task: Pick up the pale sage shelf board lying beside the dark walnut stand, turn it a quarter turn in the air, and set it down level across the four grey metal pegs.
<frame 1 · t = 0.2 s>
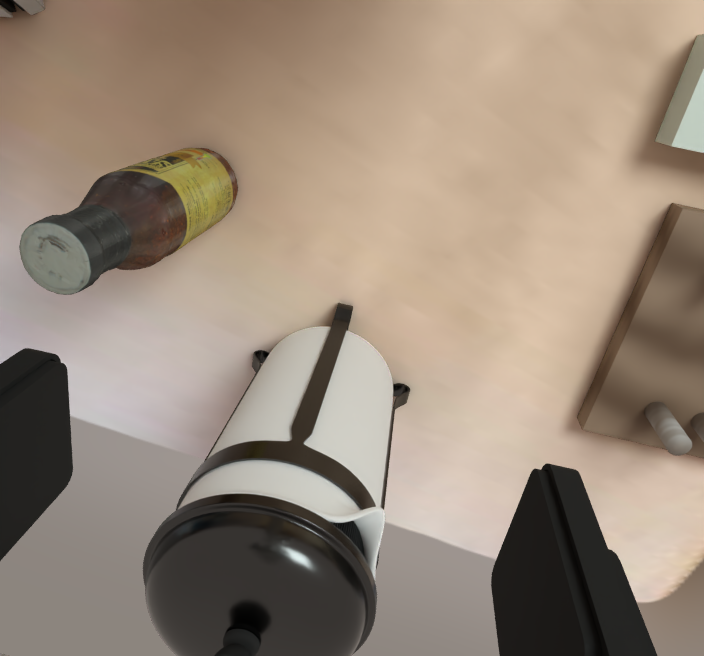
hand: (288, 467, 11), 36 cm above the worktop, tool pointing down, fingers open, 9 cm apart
peg stand: (703, 338, 46), on the worktop
coffee press: (323, 380, 53), on the worktop
sauce bottle: (204, 184, 46), on the worktop
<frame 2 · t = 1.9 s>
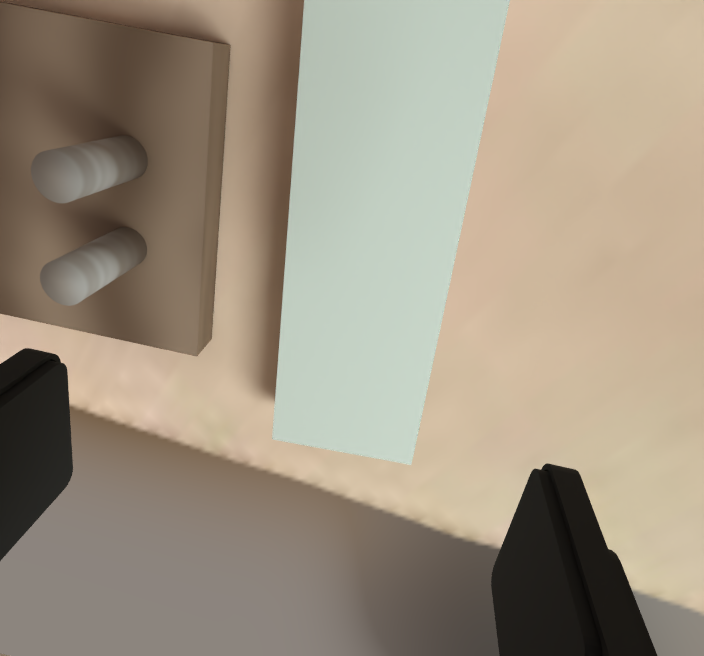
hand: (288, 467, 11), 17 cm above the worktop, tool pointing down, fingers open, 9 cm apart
peg stand: (19, 168, 27), on the worktop
shelf board: (375, 238, 26), on the worktop
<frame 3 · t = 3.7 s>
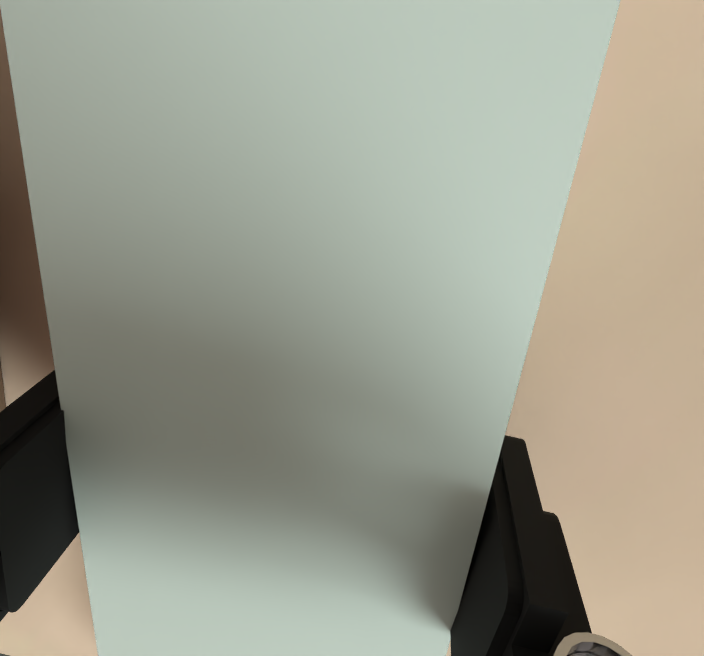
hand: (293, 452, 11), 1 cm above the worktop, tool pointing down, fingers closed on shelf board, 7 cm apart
shelf board: (308, 408, 13), on the worktop, touching gripper
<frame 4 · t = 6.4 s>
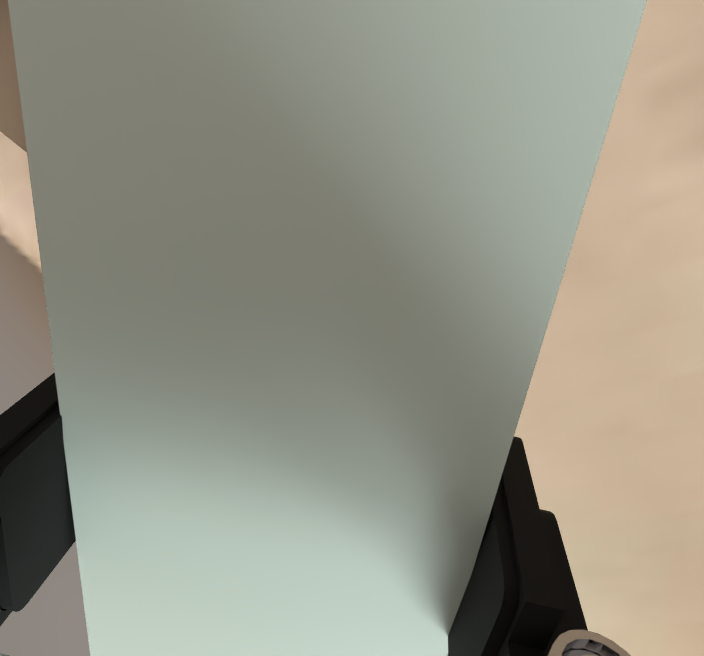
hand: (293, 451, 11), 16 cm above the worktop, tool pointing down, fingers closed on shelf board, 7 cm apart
peg stand: (166, 52, 24), on the worktop
shelf board: (308, 409, 12), point 15 cm above the worktop, touching gripper
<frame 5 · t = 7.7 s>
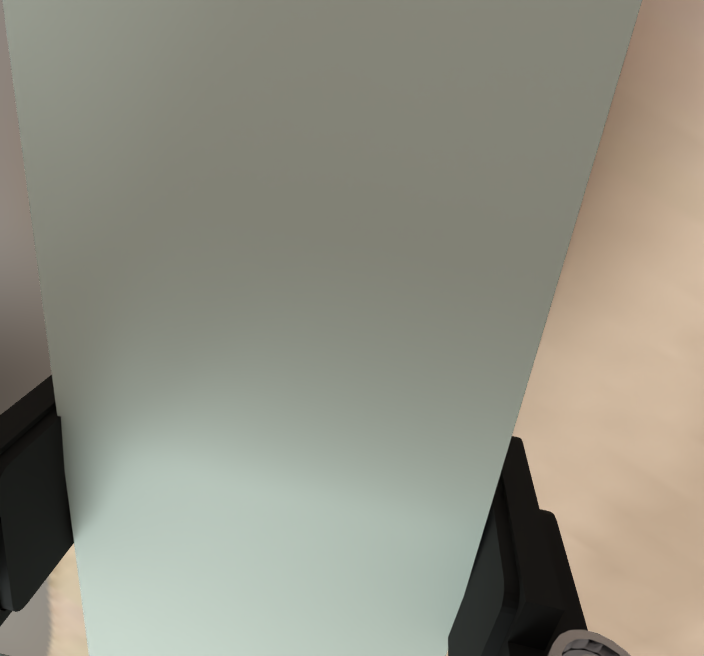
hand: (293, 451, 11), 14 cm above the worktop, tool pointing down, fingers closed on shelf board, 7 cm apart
shelf board: (307, 409, 12), point 13 cm above the worktop, touching gripper
when the fingers open (9 cm above the worktop, at t = 9.0 s): shelf board drops 1 cm, resting on peg stand.
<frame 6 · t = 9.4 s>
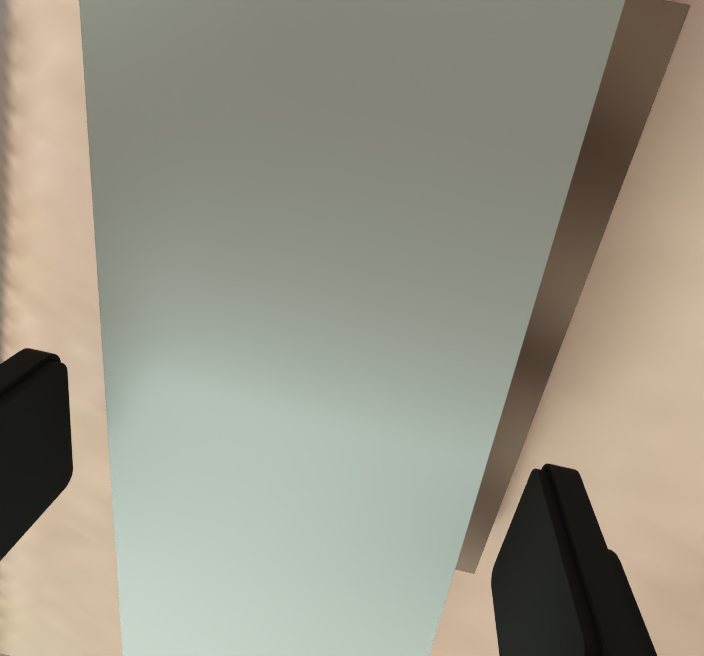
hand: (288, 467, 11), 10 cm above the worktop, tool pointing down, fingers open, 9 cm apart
peg stand: (352, 291, 20), on the worktop
shelf board: (320, 384, 14), point 7 cm above the worktop, touching peg stand
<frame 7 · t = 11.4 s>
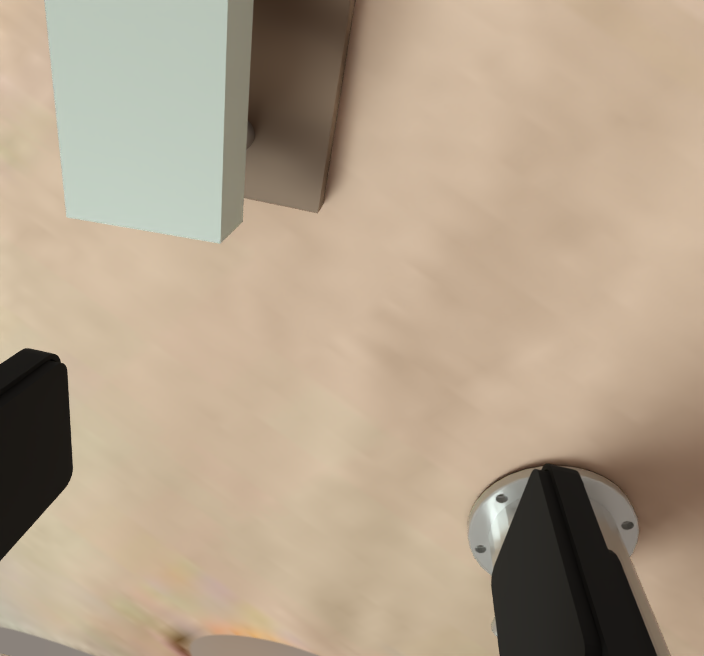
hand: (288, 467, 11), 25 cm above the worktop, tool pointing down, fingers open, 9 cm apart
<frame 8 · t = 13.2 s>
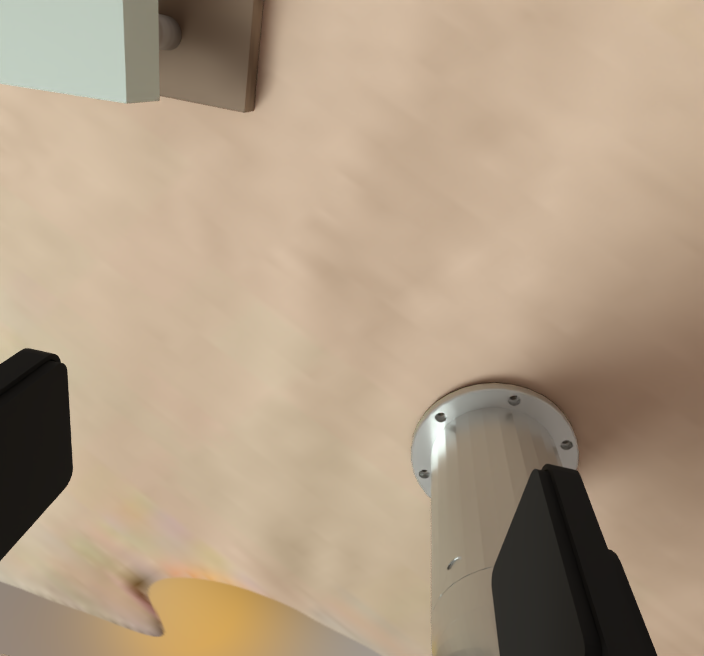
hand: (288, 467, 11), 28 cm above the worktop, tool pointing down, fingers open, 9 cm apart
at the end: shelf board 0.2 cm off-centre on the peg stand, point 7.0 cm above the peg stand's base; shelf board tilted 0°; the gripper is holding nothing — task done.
